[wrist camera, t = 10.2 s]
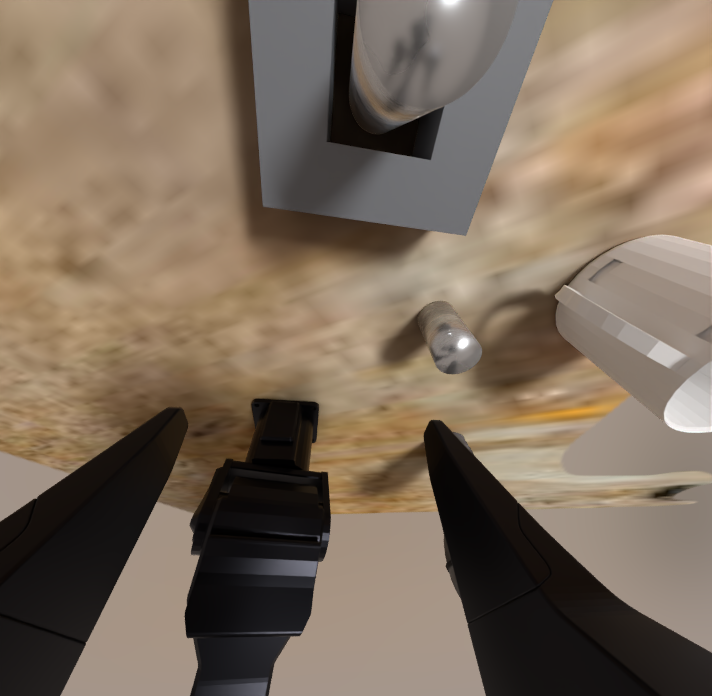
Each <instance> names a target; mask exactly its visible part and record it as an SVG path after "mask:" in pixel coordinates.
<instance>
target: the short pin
mask: <svg viewBox="0 0 712 696" xmlns="http://www.w3.org/2000/svg"><path fill="white" fill-rule="evenodd" d="M417 322H418V326H419V328H420V330H421V332H422V335H423V337H424V339H425V342H426V344H427V346H428V348H429V351H430V353H431V355H432V358H433V360H434V362H435V364H436V367H437V368H438V369H439V370H440V371H441V372H443V373H446V374H459V373H462V372H465V371H467V370H469V369H471V368H472V367H473V366H475V365H476V364H477V363H478V361H479V360H480V358H481V355H482V348H481V345H480V344H479V343H478V341H477V340H476V338H475V337H474V336H473V334H472V333H471V331H470V330H469V329H468V327H467V326H466V324H465V323H464V322H463V320H462V319H461V317H460V316H459V315H458V313H457V312H456V310H455V309H454V308H453V306H452V305H451V304H449V303H448V302H445V301H435V302H432V303H430V304H428V305H426V306H425V307H424V308H423V309H422V310H421V311H420V313H419V315H418V319H417Z"/></svg>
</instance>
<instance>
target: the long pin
mask: <svg viewBox="0 0 712 696" xmlns="http://www.w3.org/2000/svg"><path fill="white" fill-rule="evenodd" d="M517 4H518V0H357V8H356V18H355V29H354V40H353V51H352V61H351V72H350V83H349V103H350V108H351V112H352V114H353V116H354V119H355V120H356V122H357V123H358V124H359V126H360V127H361V128H362V129H364V130H365V131H367V132H369V133H372V134H384V133H386V132H389V131H391V130H393V129H395V128H397V127H400V126H402V125H404V124H406V123H408V122H410V121H412V120H415V119H417V118H419V117H421V116H423V115H425V114H428V113H430V112H432V111H434V110H436V109H438V108H441V107H443V106H445V105H447V104H449V103H451V102H453V101H455V100H457V99H458V98H460V97H461V96H463V95H464V94H465V93H467V92H468V91H469V90H470V89H471V88H472V87H473V86H474V85H475V84H476V83H477V82H478V81H479V80H480V79H481V78H482V77H483V75H484V74H485V73H486V72H487V70H488V69H489V67H490V66H491V64H492V63H493V61H494V60H495V58H496V56H497V54H498V53H499V51H500V49H501V47H502V45H503V43H504V41H505V39H506V36H507V34H508V32H509V29H510V26H511V23H512V21H513V18H514V14H515V11H516V7H517Z"/></svg>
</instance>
